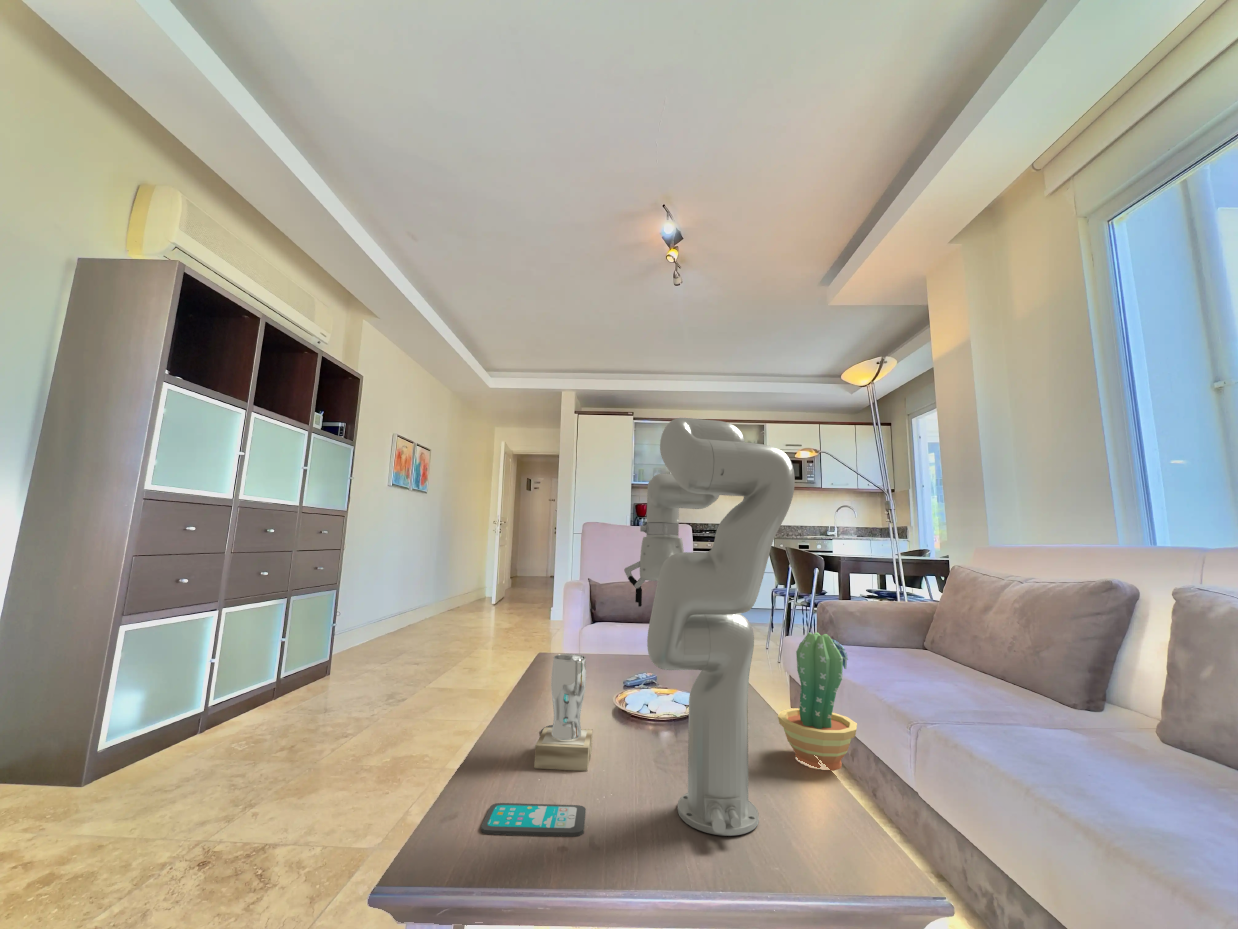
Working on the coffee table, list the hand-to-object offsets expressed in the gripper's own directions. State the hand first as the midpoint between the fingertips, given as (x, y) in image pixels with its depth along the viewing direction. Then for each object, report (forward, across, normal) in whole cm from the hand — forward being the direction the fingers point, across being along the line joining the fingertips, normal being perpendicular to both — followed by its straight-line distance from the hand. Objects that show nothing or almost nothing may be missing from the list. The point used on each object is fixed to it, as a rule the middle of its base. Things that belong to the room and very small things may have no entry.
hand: (660, 606), depth 118 cm
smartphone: (+29, -20, -36) cm, 51 cm away
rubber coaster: (+28, -22, +1) cm, 36 cm away
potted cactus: (+28, +32, -8) cm, 44 cm away
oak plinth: (+28, -19, -13) cm, 36 cm away
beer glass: (+24, -19, -13) cm, 33 cm away
